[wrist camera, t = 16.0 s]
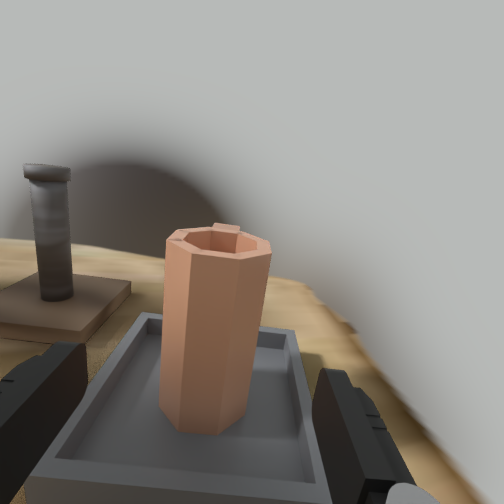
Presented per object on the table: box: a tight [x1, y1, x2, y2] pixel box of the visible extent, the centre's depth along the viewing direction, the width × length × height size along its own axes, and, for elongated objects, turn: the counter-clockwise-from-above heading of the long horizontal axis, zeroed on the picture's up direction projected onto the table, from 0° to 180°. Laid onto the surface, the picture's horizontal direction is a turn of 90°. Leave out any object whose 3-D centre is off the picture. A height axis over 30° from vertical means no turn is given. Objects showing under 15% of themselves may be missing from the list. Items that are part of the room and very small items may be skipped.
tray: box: [24, 312, 332, 504], centre depth 19 cm, size 14×14×2 cm
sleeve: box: [159, 223, 272, 435], centre depth 18 cm, size 7×6×11 cm
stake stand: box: [0, 164, 131, 344], centre depth 26 cm, size 10×10×14 cm
